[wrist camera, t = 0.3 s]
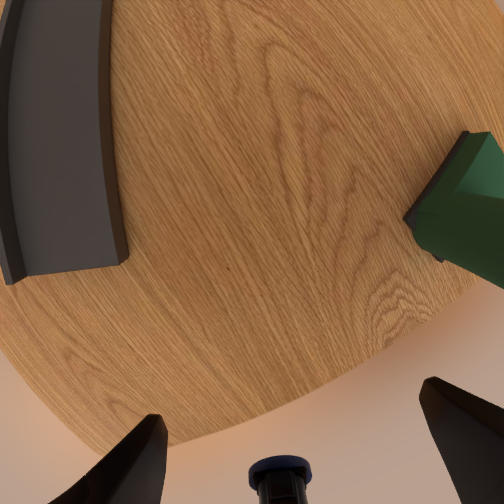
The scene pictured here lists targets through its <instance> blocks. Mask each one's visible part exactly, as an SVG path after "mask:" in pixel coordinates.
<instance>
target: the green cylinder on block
mask: <svg viewBox="0 0 504 504" xmlns="http://www.w3.org/2000/svg"><path fill="white" fill-rule="evenodd" d="M403 220H404V221H405V222H406V224H407V225H408V226H409V227H410V228H411V229H412V232H413V235H414V238H415V240H416V242H417V243H418V245H419V246H420V247H421V248H423V249H424V250H426V251H428V252H430V253H432V255H433V256H434V257H435V258H436V260H437V261H439V262H441V263H443V261H444V260H447V261H449V262H451V263H454V264H456V265H458V266H460V267H462V268H464V269H466V270H468V271H470V272H472V273H474V274H476V275H478V276H480V277H482V278H483V279H486V280H487V281H489V282H491V283H493V284H495V285H497V286H499V287H501V288H502V289H504V154H503V152H502V150H501V148H500V147H499V145H498V143H497V142H496V140H495V138H494V137H493V135H492V134H491V132H480V133H471V134H470V132H469V131H463V133H462V134H461V136H460V137H459V139H458V140H457V142H456V144H455V145H454V147H453V148H452V150H451V151H450V153H449V154H448V156H447V157H446V159H445V160H444V162H443V163H442V165H441V166H440V168H439V169H438V171H437V172H436V174H435V175H434V177H433V178H432V179H431V181H430V182H429V184H428V185H427V186H426V188H425V189H424V191H423V192H422V193H421V195H420V196H419V198H418V199H417V200H416V202H415V203H414V204H413V206H412V207H411V208H410V210H409V211H408V212H407V214H406V215H405V216H404V218H403Z"/></svg>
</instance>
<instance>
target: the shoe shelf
mask: <svg viewBox="0 0 504 504" xmlns="http://www.w3.org/2000/svg"><path fill="white" fill-rule="evenodd" d="M112 2H113V0H6V3H5V6H4V9H3V13H2V16H1V20H0V265H1V269H2V272H3V276H4V280H5V283H6V285H13V284H15V283H17V282H19V281H20V280H22V279H24V278H26V277H27V276H35V275H43V274H52V273H60V272H68V271H76V270H84V269H92V268H100V267H108V266H116V265H120V264H121V263H123V262H124V261H125V260H127V259H128V257H129V252H128V247H127V242H126V237H125V231H124V225H123V220H122V213H121V207H120V201H119V194H118V186H117V179H116V170H115V161H114V151H113V140H112V127H111V110H110V78H109V60H110V29H111V13H112Z"/></svg>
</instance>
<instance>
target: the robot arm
mask: <svg viewBox="0 0 504 504" xmlns="http://www.w3.org/2000/svg"><path fill="white" fill-rule="evenodd" d="M419 401H420V404H421V407H422V410H423V412H424V415H425V418H426V421H427V424H428V427H429V430H430V432H431V434H432V437H433V439H434V441H435V443H436V445H437V448H438V450H439V452H440V454H441V456H442V459H443V461H444V463H445V465H446V467H447V470H448V472H449V474H450V476H451V479H452V481H453V484H454V486H455V489H456V491H457V493H458V496H459V498H460V501H461V503H462V504H504V409H503V408H501V407H499V406H497V405H494V404H492V403H489V402H488V401H486V400H484V399H482V398H479V397H477V396H475V395H473V394H471V393H469V392H466V391H465V390H462V389H460V388H458V387H456V386H454V385H452V384H450V383H448V382H446V381H444V380H442V379H440V378H438V377H435V376H433V377H430V378H427V379H425V380H424V382H423V385H422V388H421V391H420V394H419ZM167 443H168V431H167V428H166V425H165V423H164V421H163V418H162V416H161V415H159V414H148V415H147V416H146V417H145V418H144V419H143V420H142V421H141V422H140V423H139V424H138V425H137V426H136V427H135V428H134V429H133V430H132V431H131V432H130V433H128V434H127V435H126V436H125V437H124V438H123V439H122V440H121V441H120V442H119V443H118V444H117V445H116V446H115V447H114V448H113V449H112V450H111V451H110V452H109V453H108V454H107V455H106V456H105V457H103V458H102V459H101V460H100V461H99V462H98V463H97V464H96V465H95V466H94V467H93V468H92V469H91V470H90V471H89V472H88V473H86V475H84V476H83V477H82V478H81V479H80V480H79V481H78V482H76V483H75V484H74V485H73V486H72V487H71V488H69V489H68V490H67V491H65V492H64V493H63V494H61V495H60V496H59V497H57V498H56V499H54V500H53V501H51V502H50V503H48V504H160V501H161V496H162V490H163V485H164V479H165V473H166V459H167ZM253 479H254V483H255V487H256V491H257V495H258V496H259V504H308V502H307V497H306V491H305V490H306V484H307V468H306V466H300V467H293V468H286V469H278V470H269V471H259V472H254V473H253Z"/></svg>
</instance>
